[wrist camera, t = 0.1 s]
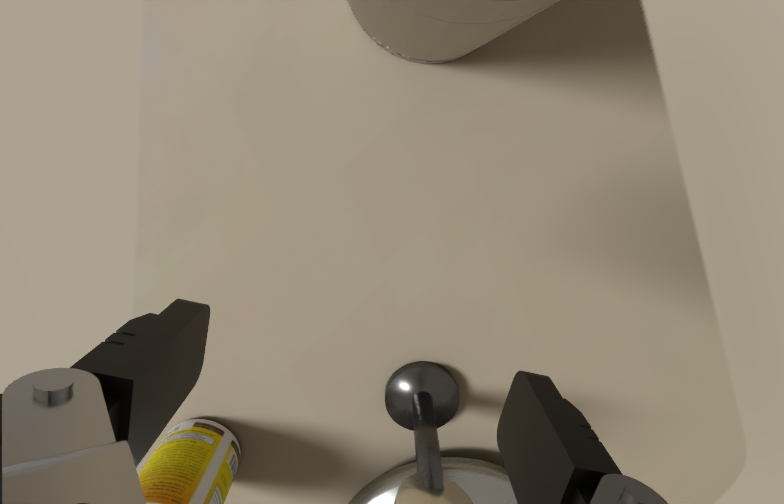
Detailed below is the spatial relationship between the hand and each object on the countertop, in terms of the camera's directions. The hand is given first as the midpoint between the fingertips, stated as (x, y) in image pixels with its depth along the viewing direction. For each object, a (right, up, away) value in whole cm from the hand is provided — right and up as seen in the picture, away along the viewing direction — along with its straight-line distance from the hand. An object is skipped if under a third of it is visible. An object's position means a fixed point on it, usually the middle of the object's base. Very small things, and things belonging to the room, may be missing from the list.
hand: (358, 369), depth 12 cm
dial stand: (+3, -7, +20) cm, 22 cm away
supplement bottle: (-13, -11, +22) cm, 27 cm away
